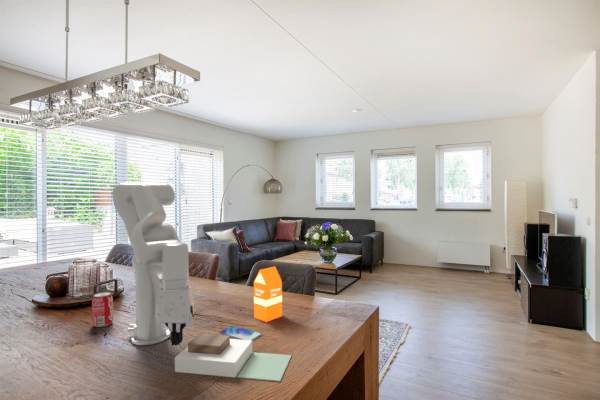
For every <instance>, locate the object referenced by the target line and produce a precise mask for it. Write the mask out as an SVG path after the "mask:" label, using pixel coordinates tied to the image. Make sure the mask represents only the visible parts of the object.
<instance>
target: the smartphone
mask: <svg viewBox="0 0 600 400" xmlns="http://www.w3.org/2000/svg"><path fill="white" fill-rule="evenodd" d="M218 333H219V334H218V335H225V336H230V338H231V339H240V340H252V342H254V341H256V340H257V339H259V338H261V337H263V333H262V332H259V331H254V330H250V329H246V328H243V327H240V326H236V325H231V326H228V327H227V328H224V329H222V330H220V331H219V332H218Z"/></svg>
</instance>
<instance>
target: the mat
mask: <svg viewBox="0 0 600 400" xmlns="http://www.w3.org/2000/svg"><path fill="white" fill-rule="evenodd" d="M291 358H292V354H282V353H281V354H279V353H268V352H255V351H253V353H252V355H251V356H250V357H249V359H248V360H247V362H246V363H245V364H244V366H243V367H242V369H241V370H240V372H239V373H238V374H237V376H236V378H237V379H238V378H239V379H246V380H247V379H248V380H257V381H258V380H259V381H268V382H281V380H282V378H283V376H284V374H285V372H286V369H287V367H288V365H289V363H290V360H291Z"/></svg>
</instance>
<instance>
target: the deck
mask: <svg viewBox="0 0 600 400" xmlns="http://www.w3.org/2000/svg"><path fill="white" fill-rule="evenodd" d="M253 353H254V351H253V341H252V340H240V339H235V338H230V344H229V345H228V347H227V348H226V349H225V350H224V351H223V352H222V353H221V354H220V355H215V354H203V353H191V352H188V346H187V347H185V348H184V349H183V350H182V351H181V352H180V353H179V354H177V355H176V356H175V357H174V372H175V373H184V374H194V375H195V374H196V375H204V376H205V375H207V376H214V377H215V376H216V377H225V378H226V377H227V378H237V376H238V375H239V373H240V372H241V370H242V369H243V367H244V366H245V364H246V363H247V362H248V360H249V359H250V357H251V356H252V354H253Z"/></svg>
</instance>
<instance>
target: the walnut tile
mask: <svg viewBox="0 0 600 400" xmlns="http://www.w3.org/2000/svg"><path fill="white" fill-rule="evenodd" d="M230 339H231V337H230V336H226V335H222V334H211V333H209V334H208V333H199V334H197V335H196V336H194V338H193V339H191V341H189V342H188V343H187V347H188V352H191V353H203V354H215V355H220V354H221V353H222V352H223V351H224V350H225V349H226V348H227V347H228V345H229V344H230Z"/></svg>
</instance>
